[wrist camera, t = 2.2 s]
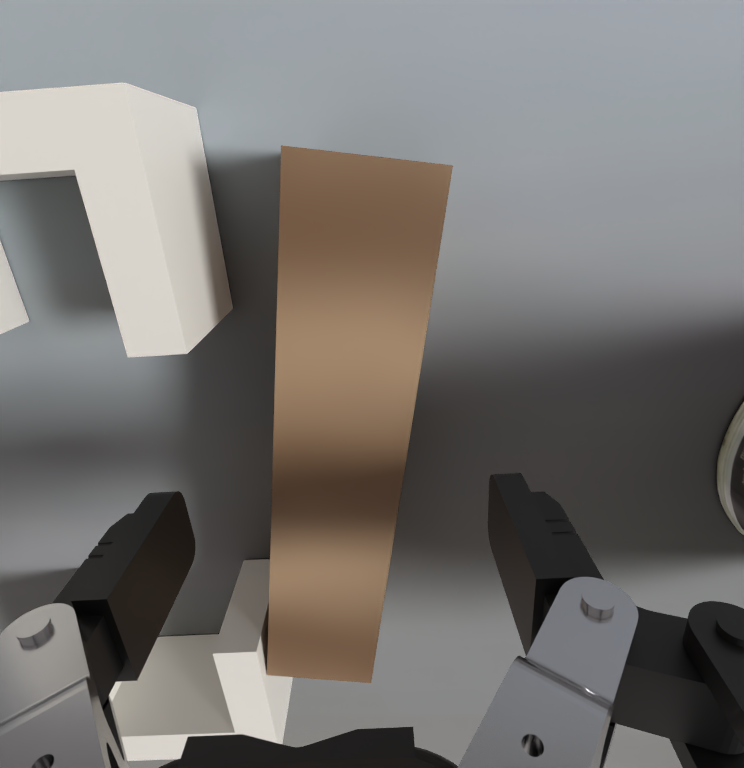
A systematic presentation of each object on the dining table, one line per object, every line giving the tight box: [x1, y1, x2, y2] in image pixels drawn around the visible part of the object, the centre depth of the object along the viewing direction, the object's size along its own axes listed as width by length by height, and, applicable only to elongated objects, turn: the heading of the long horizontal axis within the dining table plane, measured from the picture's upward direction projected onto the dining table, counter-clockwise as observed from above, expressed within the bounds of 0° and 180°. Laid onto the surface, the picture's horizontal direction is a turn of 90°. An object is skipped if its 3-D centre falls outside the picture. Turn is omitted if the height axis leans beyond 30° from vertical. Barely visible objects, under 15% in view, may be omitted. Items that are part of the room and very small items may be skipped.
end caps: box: [0, 83, 293, 761], centre depth 15 cm, size 21×8×4 cm, turn 4°
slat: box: [267, 146, 453, 683], centre depth 15 cm, size 16×4×4 cm, turn 174°
